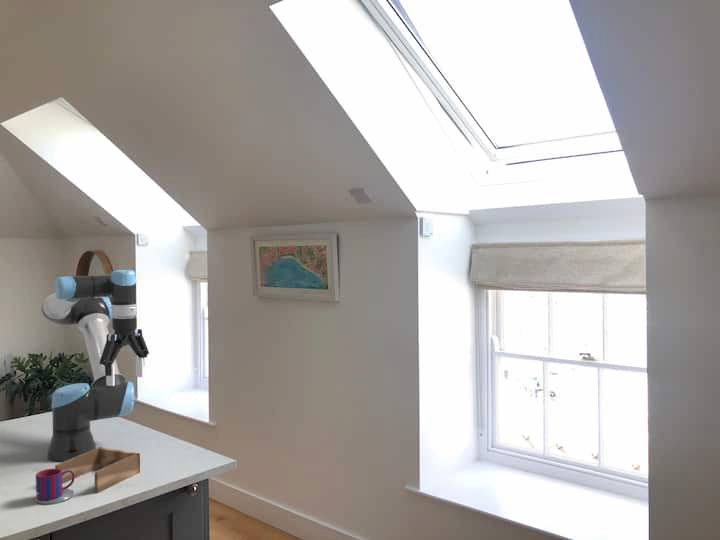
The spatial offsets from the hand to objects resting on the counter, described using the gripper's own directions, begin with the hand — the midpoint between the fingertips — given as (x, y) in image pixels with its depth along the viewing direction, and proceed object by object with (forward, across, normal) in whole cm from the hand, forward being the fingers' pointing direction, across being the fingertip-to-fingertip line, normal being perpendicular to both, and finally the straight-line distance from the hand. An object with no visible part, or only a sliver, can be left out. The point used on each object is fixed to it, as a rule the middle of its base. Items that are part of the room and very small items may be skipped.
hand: (125, 381), depth 211 cm
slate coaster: (+27, -32, -2) cm, 41 cm away
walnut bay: (+27, -16, -3) cm, 31 cm away
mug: (+26, -31, -2) cm, 41 cm away
